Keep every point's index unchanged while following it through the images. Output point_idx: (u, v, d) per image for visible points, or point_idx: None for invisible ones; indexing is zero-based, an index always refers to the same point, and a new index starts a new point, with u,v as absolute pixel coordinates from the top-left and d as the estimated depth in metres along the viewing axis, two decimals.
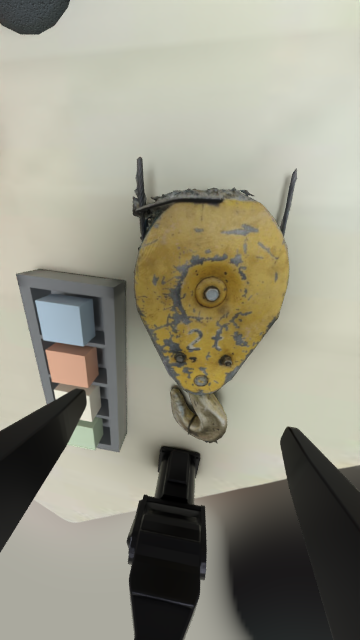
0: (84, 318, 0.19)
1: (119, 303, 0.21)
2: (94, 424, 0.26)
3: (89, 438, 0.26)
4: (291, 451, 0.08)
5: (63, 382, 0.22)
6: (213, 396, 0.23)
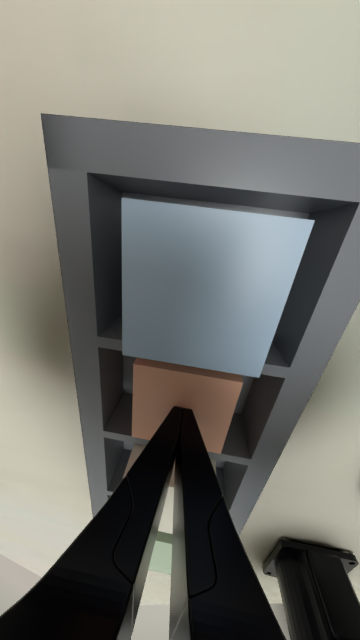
0: None
1: None
2: None
3: None
4: None
5: None
6: None
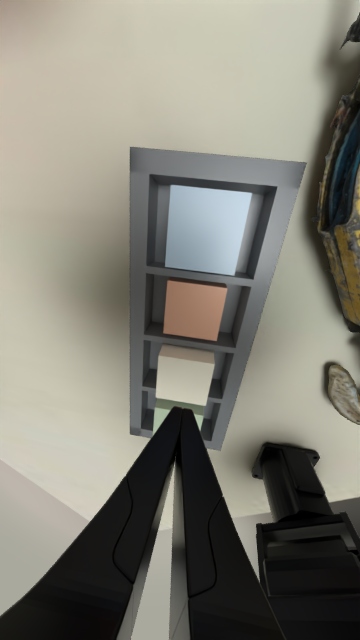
0: None
1: None
2: (202, 410, 0.18)
3: None
4: None
5: (180, 333, 0.16)
6: None
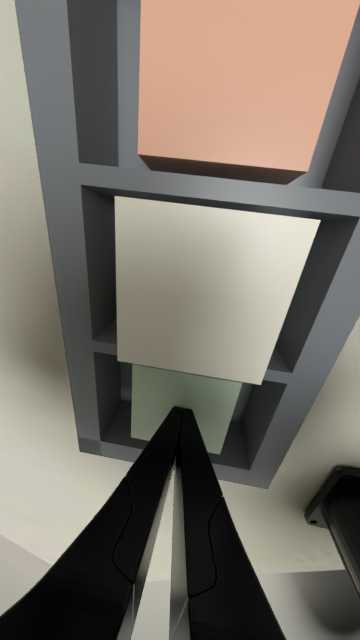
0: None
1: None
2: None
3: (214, 420, 0.09)
4: None
5: (189, 149, 0.05)
6: None
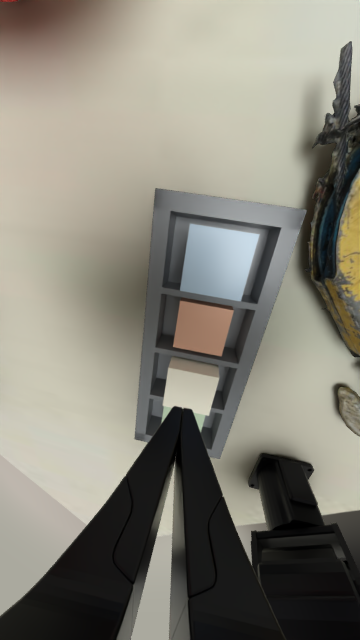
0: None
1: None
2: None
3: None
4: None
5: (188, 347, 0.17)
6: None
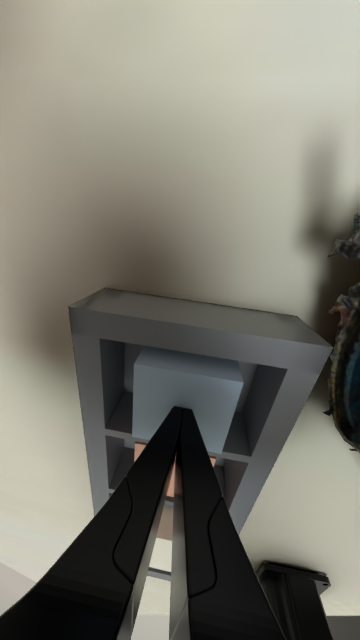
0: None
1: None
2: None
3: None
4: None
5: None
6: None
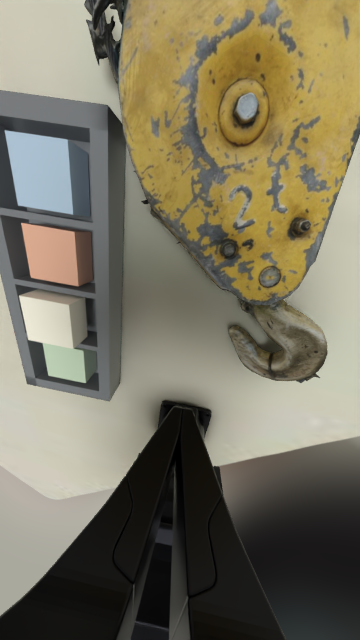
0: (74, 170, 0.14)
1: (116, 155, 0.14)
2: None
3: (78, 366, 0.21)
4: None
5: (45, 278, 0.17)
6: (292, 308, 0.16)
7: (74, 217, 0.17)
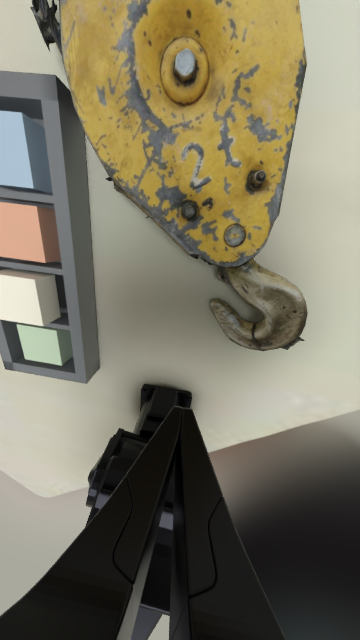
0: (32, 144, 0.14)
1: (71, 128, 0.14)
2: None
3: (53, 348, 0.21)
4: None
5: (13, 256, 0.17)
6: (266, 270, 0.16)
7: None
